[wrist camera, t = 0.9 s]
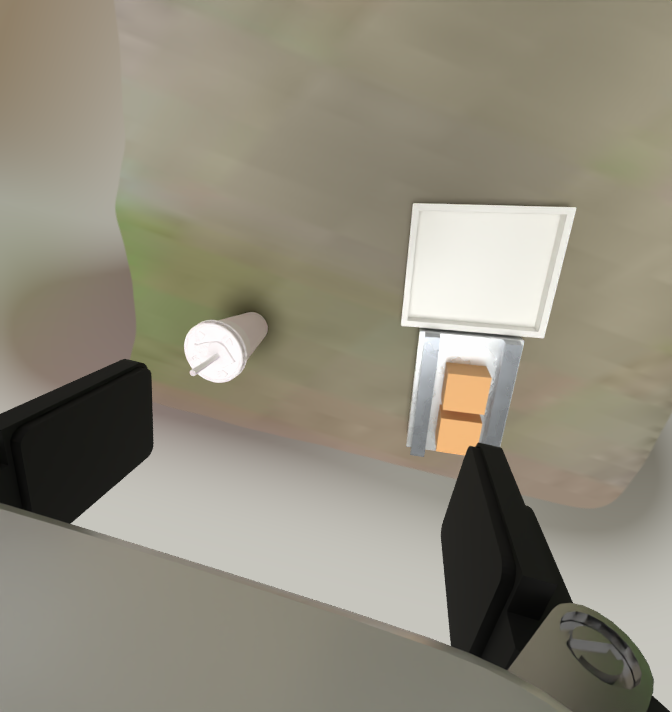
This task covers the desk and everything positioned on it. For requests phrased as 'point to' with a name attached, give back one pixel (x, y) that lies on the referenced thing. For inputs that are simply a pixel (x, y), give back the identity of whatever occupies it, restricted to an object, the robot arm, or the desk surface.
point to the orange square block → (465, 388)
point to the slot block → (462, 349)
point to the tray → (484, 267)
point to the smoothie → (224, 345)
